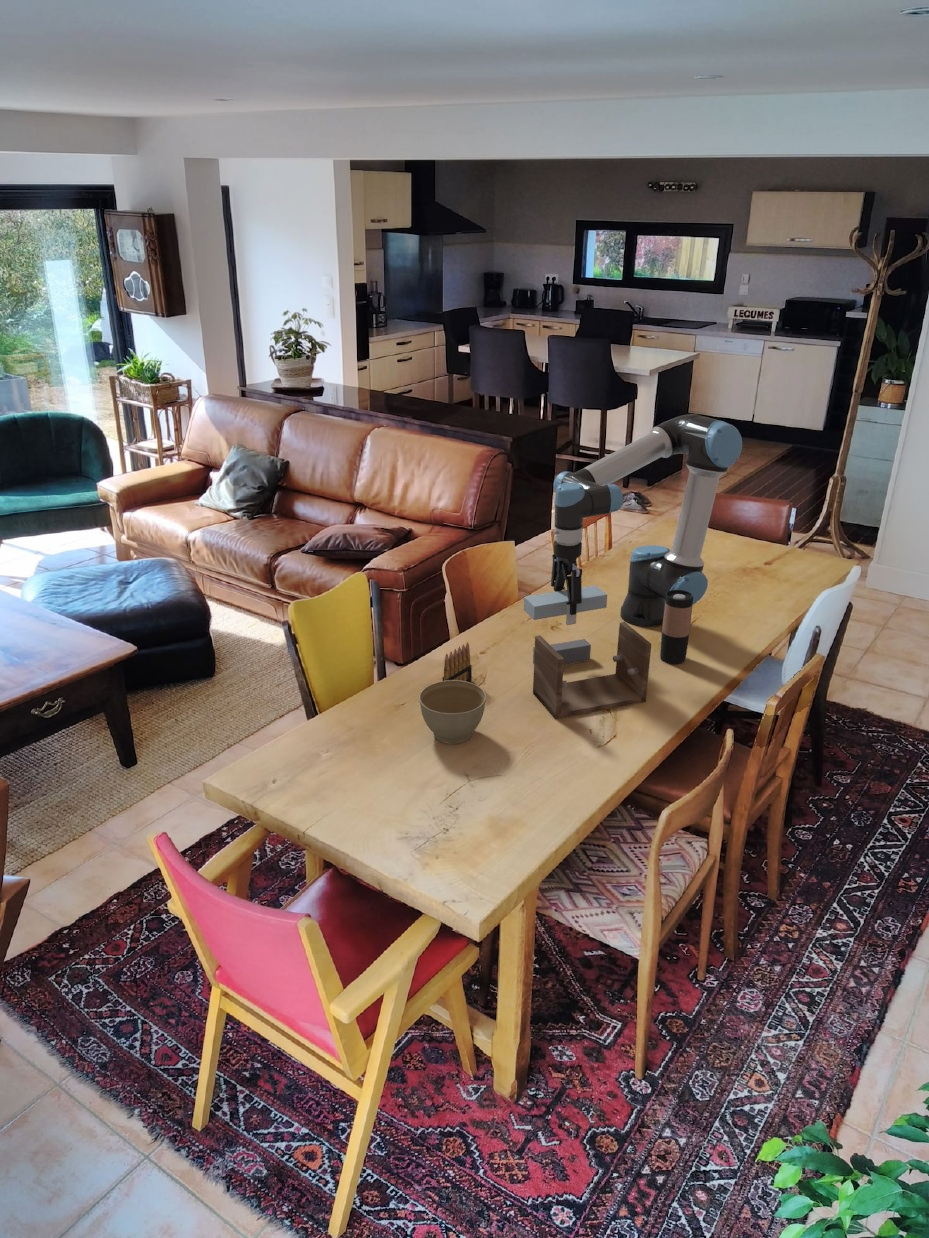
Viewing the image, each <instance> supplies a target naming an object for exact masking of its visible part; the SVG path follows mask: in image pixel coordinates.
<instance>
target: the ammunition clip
mask: <svg viewBox="0 0 929 1238" xmlns="http://www.w3.org/2000/svg"><path fill="white" fill-rule="evenodd" d="M469 644H470V643H469V642H468V641H467V642H466V643H465V644H464V643H463V644H462V646H461V647H460V646H458V647H457V649H456V648H455V649H453V651H450V652H449V654H448V653H446V654H445V655H444V656H445V657H444V663H443V664H444V665H443V676H442V681H446V680H460V681H466V682H470V683H472V681H473V680H472V679H473V677H472V675H473V674H472V672H473V671H472V669H473V668H472V664H471V654H470V653H471V652H470V649H471V648H470V645H469Z"/></svg>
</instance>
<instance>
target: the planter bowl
mask: <svg viewBox="0 0 929 1238" xmlns="http://www.w3.org/2000/svg"><path fill="white" fill-rule="evenodd" d="M418 696H419V697H418V698H419V699H418V701H419V704H420V712H421V715H422V717H423V720H424V722H425V724H426V726H427V727H428V729H429V730H430V731H431V733H433V736H434V737H435V739H436V740H438V741H439V742H441V743H444V744H449V745H452V744H453V745H457V744H461V743H464V742H466V741H469V739H471V737H472V736H473V733H474V731H475V730H476V729H477V728H478V726H479V724H480V723H481V721H482V718H483V715H484V712H485V704H486V701H487V694H486V693H485V690H484V689H483V688H481V687H480V686H479V685H476V684H475V683H473V682H466V681H460V680H446V681H443V680H441V681H437V682H434V683H432V684H429V685H427V686H426V687H424V688H423V689H422V690H421V691H420V693H419V695H418Z"/></svg>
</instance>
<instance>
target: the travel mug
mask: <svg viewBox="0 0 929 1238" xmlns="http://www.w3.org/2000/svg"><path fill="white" fill-rule="evenodd" d="M693 598H694V597H693V596H692V594H691V593H690V592H687V591H684V590H671V591H668V592H667V593H666V600H665V609H664V618H663V625H661V626H662V627H661V628H662V629H661V642H660V652H659V653H660V656H659V657H660V660H661V661H662V662H664V663H666V664H669V665H681V664H684V663H685V662H686V658H687V653H688V647H689V639H690V632H691V623H692V614H693V613H692V612H693Z"/></svg>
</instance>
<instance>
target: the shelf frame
mask: <svg viewBox="0 0 929 1238" xmlns="http://www.w3.org/2000/svg"><path fill="white" fill-rule="evenodd" d="M617 639H618V640H617V649H616V651H617V652H616V655H613V656H612V660H613V662H614V663H615V662H616V663H615V673H614V674H613V673H612V674H607V675H601V676H596V677H595V676H594V677H590V678H585V679H584V678H583V679H579V680H575V681H568V682H567V680H564V666H565V665H564V658H563V657H562V656H561V655H560V654H559V653H558V652H557V651H556V650H555V649H554V648H553V647H552V646H551V645H552V644H550V643H549V642H547V640H546V639H545V638H544V637H543V636H542V635H535V636H534V647H535V652H534V664H533V681H532V683H533V684H532V694H533V695H534V696H535V698H536V699H537V700H538V701H539V703H541V705H542V706H543V707H544V708H545V710H546V711H548V712H549V714H550V715H551V716H552V717H553V718H554V720H558V719H563V718H568V717H574V716H577V715H578V716H579V715H583V714H589V713H595V712H599V711H605V710H609V709H615V708H620V707H624V706H630V705H635V704H640V703H641V704H642V703H646V702H647V695H648V692H647V691H648V682H649V672H650V662H651V652H652V643H651V642H650V641H649V640H647V638H645V637H644V636H643V635H641V634H640V633H639V632H638V631H636V630H635V629H634V628H632V627H631V626H630V625H629V623H628V622H626V621H621V622H619V627H618V638H617Z"/></svg>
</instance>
